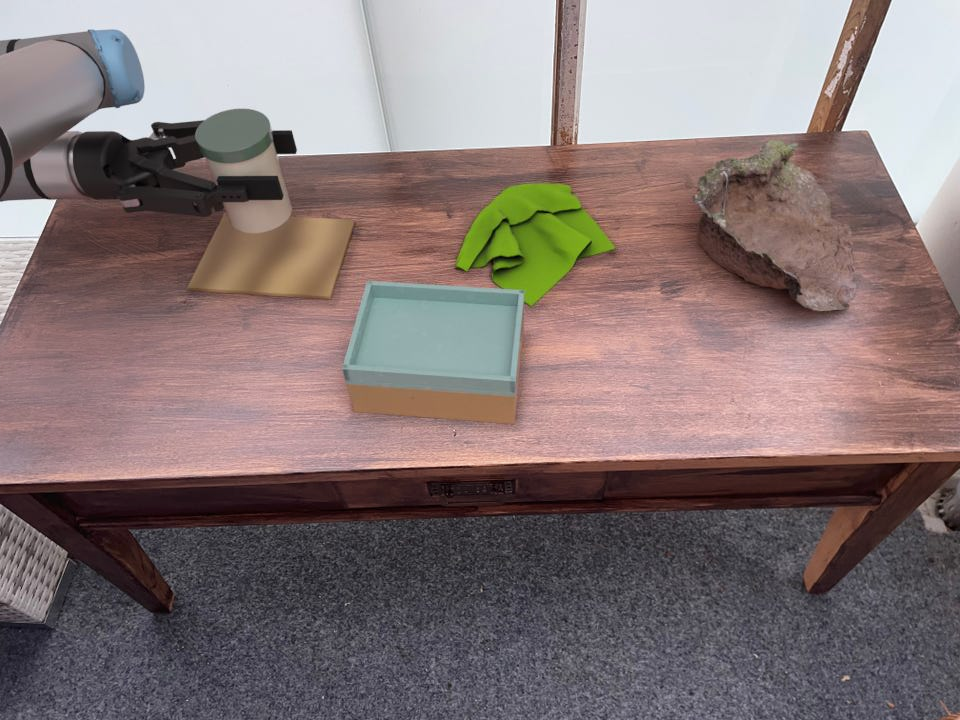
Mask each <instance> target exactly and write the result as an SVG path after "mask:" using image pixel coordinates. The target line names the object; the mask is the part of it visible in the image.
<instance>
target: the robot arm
mask: <svg viewBox="0 0 960 720" xmlns="http://www.w3.org/2000/svg"><path fill="white" fill-rule="evenodd" d="M144 95H145V77H144V72H143V68H142V65H141V60H140V58H139V55H138V53H137V50H136V48H135V46H134V45H133V43H132V41H131V39H130V38H129V37H128V36H127V34H125V33H124V32H123V31H121V30H119V29H114V28H113V29H111V28H110V29H96V30H95V29H87V30H85V31H79V32H78V31H77V32H69V33H60V34H51V35H43V36H36V37H35V36H34V37H28V38H13V39H3V40H0V203H1V202H8V201H11V202H12V201H30V200H31V201H32V200H49V201H53V200H54V201H55V200H92V199H93V200H97V201H103V200H106V201H107V200H108V201H109V200H110V201H113V200H114V201H115V200H118V201H119V203H120V205H121V206H122V208H123V211H124V212H125V213H126V214H132V213H139V212H154V213H162V214H173V215H182V216H193V217H201V218H207V217H209V216H211V215H212V214H213V211H212V209H214V211H215V212H222V211H223V210H225V208H224V205H223V202H247V201H249V200H282V199H283V196H284V195H283V192H282V189H281V185H280V182H279V179H278V176H218V178H217V183H218V185H216V184H215V182H214V180H213V181H212V180H210V179H206V178H202V177H198V176H196V175H191V174H188V173H185V172H182V171H177V170H176V169H180V168H184V167H185V166H186V164H187V163H188V162H189V163H190V162H192V161H197V160H198V161H199V160H201V159H205V157H204V156H203V155H202V153H201V152H200V149H199V147H198V144H197V142H196V139H195V133H196V130H197V128H198V127H199V125H200V124H201V123H202V122H203V121H204V120H205V119H203V120H201V119H200V120H193V121H192V120H191V121H182V122H165V121H164V122H161V121H154V122H152V123H151V124H150V128H151V129H152V131H153V132H152V133H151V134H150V135H149V136H147V137H141V138H137V139H129V138H127V137H126V136H124V135H123V134H121V133H119V132H117V131H114V130H103V131H102V130H98V131H97V130H95V131H92V130H91V131H89V130H88V131H84V132H82V131H79V130H71V129H73V128H74V127H76V126H77V125H78V124H80V123H81V122H82V121H84V120H85V119H87V118H88V117H89V116H92V115H93V114H94V113H96V112H98V111H99V110H103V109H107V108H115V109H120V108H121V107H125V106H131V105H134V104H138V103H140V102H141V101H142V100H143V98H144ZM272 132H273V142H274V145H275V148H276V152H277V155H297V152H298V148H297V145H296V141H295V137H294V134H293V130H292V129H291V130H290V129H288V130H285V129H284V130H283V129H282V130H278V129H277V130H272ZM170 148H171V149H170ZM171 150H172V151H171ZM172 153H173V154H174V156H173V154H172ZM194 203H195V204H194Z"/></svg>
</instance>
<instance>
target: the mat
mask: <svg viewBox="0 0 960 720" xmlns="http://www.w3.org/2000/svg"><path fill="white" fill-rule="evenodd" d="M355 227H356V220H355V219H346V218H329V217H326V218H325V217H309V216H291V215H290V217H289V218H288V220H287V221H286V222H285V223H283V224H282V225H281V226H279V227H277V228H275V229H273V230H270V231H267V232H262V233H246V232H242V231H239V230H237V229H236V228H234V227H233V226H232V225H231V223H230V221H229V219H228V216H227V214H226V212H223V215H222V217H221V219H220V220H219V223H218V225H217V227H216V229H215V231H214V232H213V235H212V238H211V239H210V241H209V243H208V245H207V246H206V249H205V251H204V253H203V255H202V257H201V259H200V261H199V263H198V265H197V267H196V269H195V271H194V273H193V275H192V277H191V279H190V281H189V283H188V285H187V290H188V291H190V292H204V293H219V294H220V293H221V294H235V295H236V294H237V295H251V296H253V295H254V296H265V297H266V296H269V297H284V298H299V299H315V300H332V298H333V294H334V291H335V289H336V288H335V287H336V284H337V282H338V280H339V276H340V272H341V270H342V266H343V263H344V260H345V257H346V254H347V251H348V247H349V245H350V243H351V242H350V241H351V239H352V237H353V233H354V229H355Z"/></svg>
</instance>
